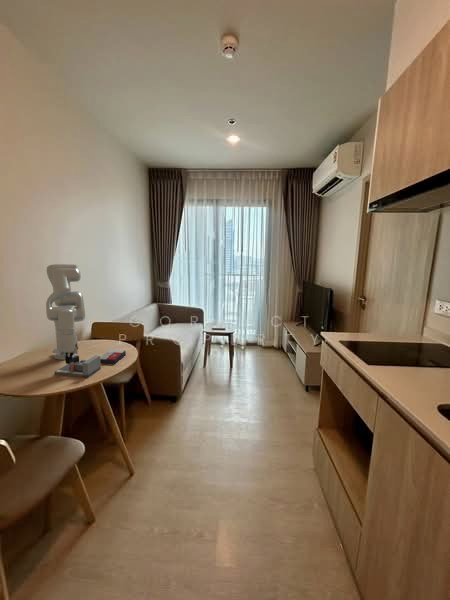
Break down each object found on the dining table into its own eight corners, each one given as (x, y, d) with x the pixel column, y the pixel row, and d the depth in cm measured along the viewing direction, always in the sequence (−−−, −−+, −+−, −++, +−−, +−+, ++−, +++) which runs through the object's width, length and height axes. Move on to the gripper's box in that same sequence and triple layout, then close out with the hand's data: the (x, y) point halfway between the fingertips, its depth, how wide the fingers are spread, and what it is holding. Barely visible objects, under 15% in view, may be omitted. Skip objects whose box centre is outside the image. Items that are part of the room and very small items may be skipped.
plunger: (66, 371, 140) (65, 361, 139) (77, 365, 148) (76, 355, 147) (80, 373, 139) (80, 362, 138) (90, 366, 147) (90, 356, 146)
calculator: (96, 358, 156) (109, 348, 171) (97, 365, 157) (110, 354, 172) (114, 359, 155) (125, 349, 170) (115, 366, 156) (126, 355, 171)
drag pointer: (70, 372, 140) (69, 363, 139) (72, 371, 141) (72, 362, 140) (72, 372, 140) (71, 363, 139) (74, 371, 141) (73, 362, 140)
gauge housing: (54, 374, 141) (53, 360, 140) (69, 365, 152) (68, 353, 151) (88, 377, 139) (87, 363, 137) (100, 369, 149) (100, 355, 148)
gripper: (49, 332, 139) (51, 364, 142) (74, 334, 137) (76, 366, 140) (60, 328, 147) (62, 359, 150) (83, 330, 145) (85, 361, 148)
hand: (69, 362), depth 145 cm, fingers closed
